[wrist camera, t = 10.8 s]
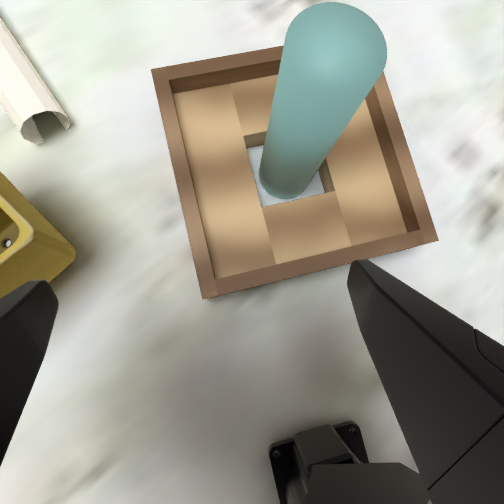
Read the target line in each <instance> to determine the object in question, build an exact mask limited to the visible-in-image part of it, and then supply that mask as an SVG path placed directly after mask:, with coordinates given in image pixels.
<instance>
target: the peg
mask: <svg viewBox="0 0 504 504" xmlns="http://www.w3.org/2000/svg"><path fill="white" fill-rule="evenodd" d="M386 59H387V47H386V42H385V38H384V36H383V34H382V32H381V30H380V28H379V27H378V25H377V24H376V23H375V22H374V21H373V19H372V18H371V17H369V16H368V15H367V14H366V13H364V12H363V11H361V10H359V9H357V8H355V7H353V6H350V5H347V4H343V3H336V2H326V3H320V4H316V5H313V6H311V7H309V8H307V9H305V10H303V11H302V12H301V13H299V14H298V15H297V16H296V17H295V18H294V20H293V21H292V22H291V24H290V26H289V28H288V31H287V33H286V38H285V43H284V48H283V53H282V58H281V63H280V68H279V73H278V78H277V83H276V88H275V93H274V98H273V103H272V108H271V113H270V118H269V123H268V128H267V133H266V138H265V143H264V148H263V153H262V158H261V163H260V168H259V179H260V182H261V185H262V186H263V188H264V189H265V190H266V191H267V192H268V193H269V194H270V195H272V196H274V197H277V198H281V199H289V198H293V197H296V196H298V195H299V194H301V193H302V192H303V191H304V190H305V188H306V187H307V185H308V184H309V182H310V181H311V179H312V178H313V176H314V175H315V173H316V172H317V170H318V169H319V167H320V166H321V164H322V163H323V161H324V159H325V158H326V156H327V155H328V153H329V152H330V150H331V149H332V147H333V146H334V144H335V143H336V141H337V140H338V138H339V137H340V135H341V134H342V132H343V131H344V129H345V128H346V126H347V125H348V123H349V122H350V120H351V119H352V117H353V116H354V114H355V113H356V111H357V110H358V108H359V107H360V105H361V104H362V102H363V101H364V99H365V98H366V96H367V95H368V93H369V92H370V90H371V89H372V87H373V86H374V84H375V83H376V81H377V80H378V78H379V77H380V75H381V74H382V72H383V70H384V67H385V64H386Z"/></svg>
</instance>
